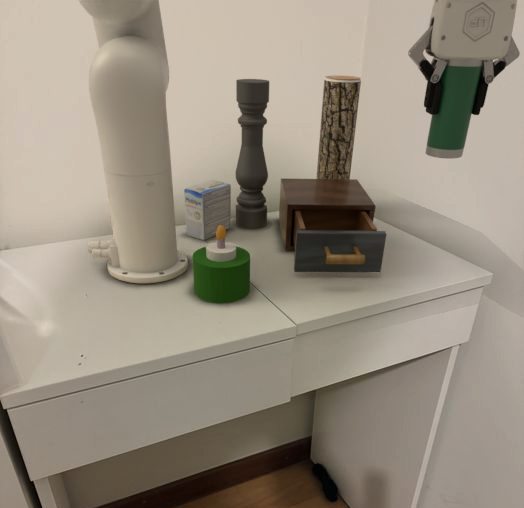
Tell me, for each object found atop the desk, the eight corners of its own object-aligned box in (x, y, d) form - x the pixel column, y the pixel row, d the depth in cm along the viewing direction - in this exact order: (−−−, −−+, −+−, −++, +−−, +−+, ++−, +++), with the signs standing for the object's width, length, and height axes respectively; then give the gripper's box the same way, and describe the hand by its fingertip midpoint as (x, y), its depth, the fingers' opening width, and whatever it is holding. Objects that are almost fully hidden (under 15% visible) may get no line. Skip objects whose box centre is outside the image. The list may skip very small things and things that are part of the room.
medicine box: (213, 224, 101) (212, 178, 96) (231, 229, 98) (231, 183, 94) (185, 235, 95) (183, 188, 90) (204, 241, 93) (202, 193, 88)
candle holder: (238, 217, 104) (238, 78, 91) (268, 219, 104) (273, 79, 90) (232, 227, 99) (231, 81, 85) (264, 230, 98) (268, 83, 85)
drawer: (388, 286, 77) (395, 246, 74) (297, 286, 77) (300, 245, 73) (361, 238, 93) (366, 203, 90) (286, 237, 93) (288, 202, 89)
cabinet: (368, 251, 91) (375, 205, 86) (285, 251, 90) (287, 204, 86) (352, 221, 104) (357, 179, 99) (278, 220, 103) (280, 178, 99)
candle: (192, 303, 73) (189, 236, 68) (195, 278, 80) (192, 215, 75) (251, 303, 74) (252, 236, 68) (248, 277, 81) (249, 215, 75)
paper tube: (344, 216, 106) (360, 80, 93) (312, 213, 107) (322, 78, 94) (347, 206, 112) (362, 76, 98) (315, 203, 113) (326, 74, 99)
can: (431, 158, 75) (450, 55, 68) (420, 150, 79) (437, 53, 72) (467, 158, 75) (490, 56, 68) (454, 150, 80) (475, 53, 72)
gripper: (424, -50, 61) (399, 117, 71) (566, -47, 61) (522, 118, 71) (406, -44, 67) (386, 108, 77) (535, -41, 68) (499, 109, 78)
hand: (452, 112), depth 74 cm, fingers closed on can, 5 cm apart
